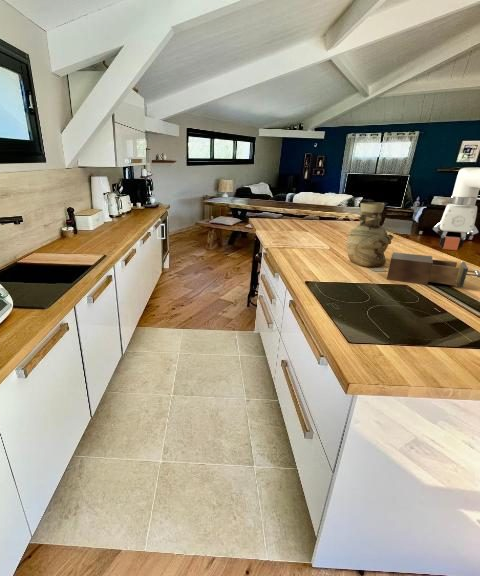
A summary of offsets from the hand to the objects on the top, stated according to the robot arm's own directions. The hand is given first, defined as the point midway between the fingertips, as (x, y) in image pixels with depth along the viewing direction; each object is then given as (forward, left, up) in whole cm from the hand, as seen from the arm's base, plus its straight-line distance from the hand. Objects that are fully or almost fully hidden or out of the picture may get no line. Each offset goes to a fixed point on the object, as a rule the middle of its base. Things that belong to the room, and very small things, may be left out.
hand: (449, 247), depth 127 cm
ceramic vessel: (+31, -18, -15) cm, 39 cm away
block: (0, 0, 0) cm, 0 cm away
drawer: (-2, 0, -14) cm, 15 cm away
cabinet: (+12, 0, -15) cm, 19 cm away
